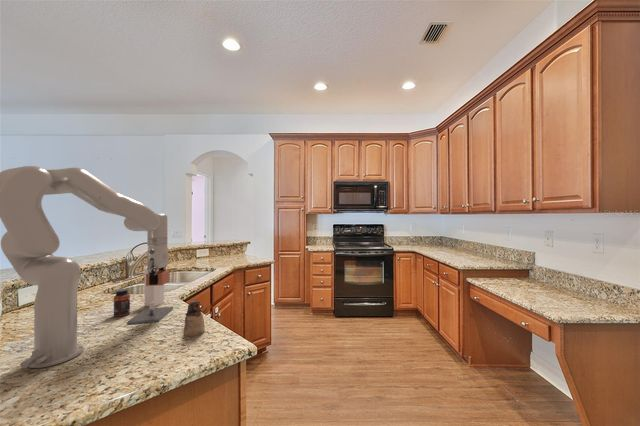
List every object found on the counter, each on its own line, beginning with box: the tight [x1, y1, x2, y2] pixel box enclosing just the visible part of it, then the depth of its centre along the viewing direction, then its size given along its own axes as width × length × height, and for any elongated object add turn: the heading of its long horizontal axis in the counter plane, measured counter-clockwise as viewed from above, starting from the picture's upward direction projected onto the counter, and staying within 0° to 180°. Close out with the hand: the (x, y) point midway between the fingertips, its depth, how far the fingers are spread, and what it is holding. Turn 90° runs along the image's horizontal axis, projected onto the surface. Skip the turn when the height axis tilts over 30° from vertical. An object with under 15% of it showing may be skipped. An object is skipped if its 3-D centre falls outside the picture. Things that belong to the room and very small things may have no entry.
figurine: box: [183, 300, 206, 338], centre depth 98 cm, size 7×7×12 cm
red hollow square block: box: [146, 270, 170, 286], centre depth 114 cm, size 6×6×5 cm
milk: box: [144, 266, 165, 307], centre depth 132 cm, size 6×6×22 cm
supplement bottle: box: [113, 288, 131, 318], centre depth 117 cm, size 6×6×11 cm
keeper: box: [126, 302, 174, 325], centre depth 116 cm, size 16×12×6 cm
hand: (157, 282), depth 114 cm, fingers closed on red hollow square block, 6 cm apart
